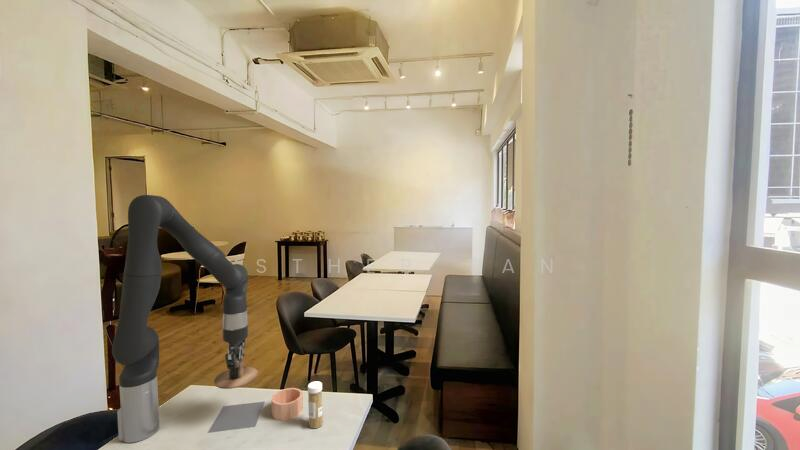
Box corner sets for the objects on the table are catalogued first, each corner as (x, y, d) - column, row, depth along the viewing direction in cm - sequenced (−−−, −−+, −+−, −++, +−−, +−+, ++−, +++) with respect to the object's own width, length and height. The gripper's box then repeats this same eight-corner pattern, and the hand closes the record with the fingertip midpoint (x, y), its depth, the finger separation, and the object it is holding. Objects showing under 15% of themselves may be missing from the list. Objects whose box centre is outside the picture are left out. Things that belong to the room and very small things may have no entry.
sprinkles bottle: (325, 425, 106) (324, 385, 105) (311, 431, 103) (310, 389, 103) (320, 418, 110) (319, 379, 109) (306, 423, 107) (305, 383, 106)
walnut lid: (207, 390, 102) (207, 374, 102) (222, 370, 115) (222, 355, 115) (252, 386, 105) (251, 370, 104) (261, 367, 117) (261, 353, 117)
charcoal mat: (207, 434, 102) (207, 432, 102) (223, 407, 116) (223, 406, 116) (255, 428, 105) (255, 426, 105) (264, 403, 119) (264, 401, 119)
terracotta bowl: (269, 424, 107) (268, 406, 107) (275, 406, 117) (274, 389, 117) (301, 420, 109) (300, 402, 109) (304, 402, 119) (303, 386, 118)
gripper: (230, 318, 115) (231, 366, 116) (215, 333, 101) (216, 387, 102) (252, 317, 117) (253, 364, 117) (241, 331, 103) (242, 385, 104)
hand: (236, 375), depth 110 cm, fingers closed on walnut lid, 3 cm apart
